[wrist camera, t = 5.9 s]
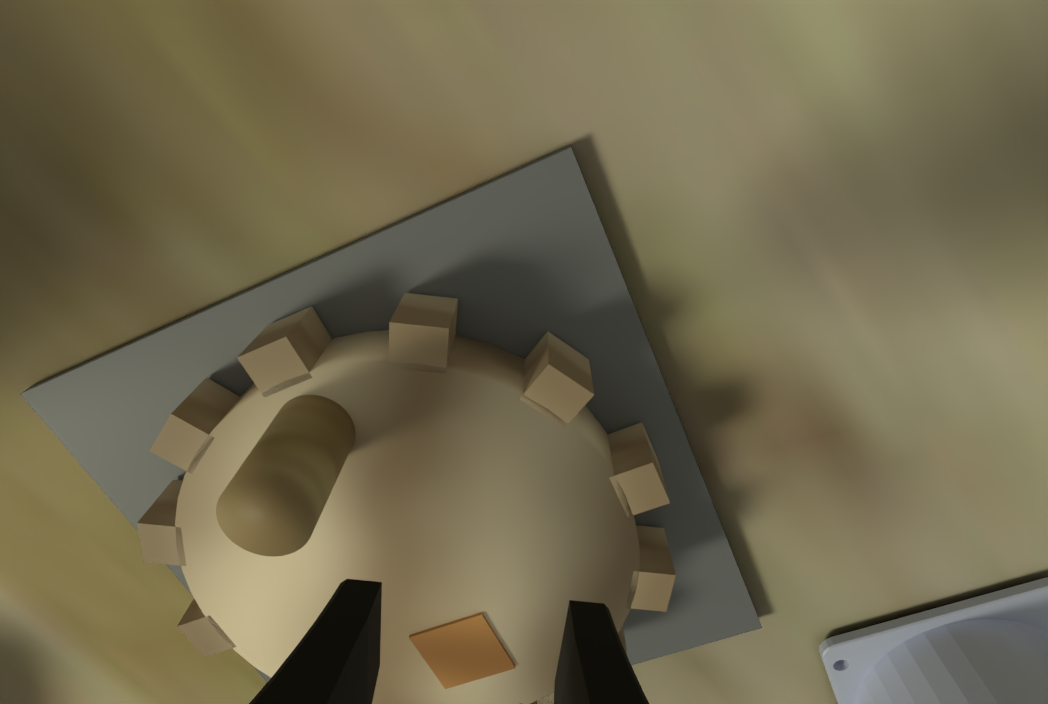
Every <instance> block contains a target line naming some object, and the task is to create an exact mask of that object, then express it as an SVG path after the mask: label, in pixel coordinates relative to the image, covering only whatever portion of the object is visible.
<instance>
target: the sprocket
mask: <svg viewBox="0 0 1048 704" xmlns="http://www.w3.org/2000/svg"><path fill="white" fill-rule="evenodd" d="M457 308H458V298H449V297H440V296H430V295H421V294H412V293H404V295H403V297H402V299H401V301H400V303H399V305H398V307H397V309H396V310H395V312H394V314H393V316H392V318H391V320H390V322H389V330H379V331H367V332H362V333H357V334H352V335H347V336H342V337H337V338H334V339H332V338H331V337H330V335H329V333H328V332H327V330H326V328H325V327H324V325H323V323H322V322H321V320H320V319H319V317H318V315H317V314H316V312H315V310H314V309H313V307H312V306H311V307H308V308H306V309H304V310H302V311H299V312H297V313H295V314H292V315H290V316H288V317H286V318H283V319H281V320H279V321H276V322H274V323H272V324H269V325H267V326H266V327H265V328H264V329H263V331H262V332H261V333H260V334H259V335H258V336H257V337H256V338H255V339H254V340H253V341H252V342H251V343H250V344H249V345H248V346H247V347H246V349H245V350H244V351H243V352H242V353H241V354H240V355H239V356H238V357H237V358H238V360H239V361H240V363H241V364H242V366H243V367H244V369H245V370H246V372H247V373H248V374H249V376H250V377H251V379H252V380H253V382H254V384H252V385H251V386H250V387H249V388H248V389H247V390H246V391H245V392H244V393H243V394H242V395H241V397H240V396H238V395H236V394H234V393H233V392H231V391H229V390H228V389H226V388H224V387H222V386H221V385H219V384H217V383H215V382H214V381H212V380H210V379H209V378H207V377H206V378H205V379H204V380H203V381H202V383H201V384H200V385H199V386H198V387H197V388H196V389H195V390H194V391H193V392H192V393H191V394H190V395H189V396H188V397H187V398H186V399H185V400H184V401H183V402H182V403H181V404H180V405H179V406H178V407H177V408H176V409H175V410H174V411H173V412H172V413H171V415H170V416H169V418H168V420H167V421H166V423H165V425H164V427H163V428H162V430H161V432H160V433H159V435H158V437H157V439H156V440H155V442H154V444H153V446H152V447H151V449H150V452H152V453H154V454H155V455H157V456H159V457H161V458H163V459H165V460H167V461H168V462H170V463H172V464H174V465H176V466H178V467H180V468H181V469H183V470H185V471H186V473H185V476H184V479H183V481H182V480H172V481H171V483H170V484H169V485H168V486H167V487H166V489H165V490H164V491H163V492H162V493H161V495H160V496H159V497H158V498H157V499H156V501H155V502H154V503H153V504H152V505H151V507H150V508H149V509H148V510H147V512H146V513H145V514H144V515H143V516H142V518H141V519H140V520H139V521H138V522H137V527H138V532H139V538H140V544H141V549H142V555H143V561H144V562H148V563H158V564H169V565H179V566H181V568H182V571H183V574H184V576H185V579H186V581H187V584H188V586H189V589H190V591H191V593H192V595H193V597H194V600H193V601H192V603H191V604H190V606H189V608H188V609H187V611H186V613H185V614H184V616H183V617H182V619H181V621H180V622H179V624H178V626H177V627H178V629H179V630H180V631H181V632H182V633H183V634H184V635H185V636H186V638H187V639H188V640H189V641H190V642H191V643H192V644H193V645H194V646H195V648H196V649H197V650H198V651H199V652H200V653H201V654H202V655H203V657H207V656H210V655H213V654H216V653H219V652H222V651H225V650H228V649H231V648H233V649H234V650H235V651H236V652H237V653H238V654H240V655H241V656H242V657H243V658H245V659H246V660H247V661H248V662H249V663H251V664H252V665H253V666H254V667H255V668H257V669H258V670H260V671H261V672H263V673H264V674H266V675H267V676H269V677H270V678H272V676H273V675H274V674H275V673H276V671H277V670H278V669H279V668H280V666H281V665H282V664H283V663H284V661H285V660H286V659H287V657H288V656H289V655H290V654H291V652H292V651H293V650H294V649H295V647H296V646H297V645H298V644H299V642H300V641H301V640H302V638H303V637H304V635H305V634H306V633H307V631H308V630H309V629H310V627H311V626H312V625H313V623H314V622H315V621H316V619H317V618H318V616H319V615H320V613H321V612H322V611H323V609H324V608H325V606H326V605H327V603H328V602H329V600H330V599H331V597H332V596H333V594H334V593H335V591H336V589H337V588H338V586H339V585H340V583H341V582H343V581H344V580H346V579H355V580H365V581H376V582H382V599H381V642H380V667H379V672H378V677H377V682H376V687H375V692H374V696H373V701H372V704H537V700H539V699H541V698H543V697H546V696H548V695H550V694H552V693H553V692H554V686H555V676H556V671H557V665H558V660H559V655H560V649H561V644H562V638H563V633H564V627H565V622H566V617H567V611H568V606H569V600H573V601H584V602H594V603H604V604H605V605H606V606H607V607H608V608H609V610H610V613H611V616H612V619H613V622H614V625H615V627H616V630H617V633H618V635H619V638H620V640H621V643H622V645H623V648H624V650H625V652H626V655H627V649H626V642H625V635H624V628H623V623H624V621H625V619H626V617H627V616H628V614H629V611H630V608H632V609H642V610H653V611H663V612H666V611H667V607H668V603H669V599H670V596H671V592H672V588H673V585H674V581H675V577H676V573H675V569H674V565H673V562H672V558H671V554H670V550H669V546H668V542H667V538H666V534H665V530H664V528H659V527H648V526H638V525H636V524H635V519H634V515H636V514H639V513H642V512H645V511H648V510H651V509H654V508H657V507H660V506H663V505H666V504H669V503H670V500H669V497H668V493H667V490H666V486H665V483H664V479H663V476H662V472H661V468H660V465H659V461H658V459H657V456H656V454H655V452H654V449H653V447H652V445H651V442H650V440H649V438H648V435H647V433H646V430H645V428H644V426H643V423H642V422H641V423H638V424H635V425H632V426H630V427H627V428H624V429H621V430H619V431H616V432H613V433H610V434H607V433H606V431H605V430H604V428H603V427H602V426H601V424H600V423H599V422H598V420H597V419H596V418H595V416H594V415H593V414H592V412H591V411H590V410H589V409H588V408H587V407H586V406H585V405H586V404H587V402H588V401H589V400H590V399H591V398H592V397H593V396H594V389H593V383H592V376H591V370H590V364H589V359H588V358H586V357H585V356H583V355H582V354H580V353H579V352H577V351H576V350H575V349H573V348H572V347H570V346H569V345H567V344H566V343H564V342H563V341H561V340H560V339H558V338H557V337H556V336H554V335H553V334H551V333H550V332H548V331H547V333H546V334H545V335H544V336H543V337H542V339H541V340H540V341H539V342H538V344H537V345H536V346H535V347H534V349H533V350H532V351H531V352H530V353H529V355H528V356H527V357H526V358H525V359H523V358H521V357H520V356H517V355H515V354H512V353H510V352H508V351H505V350H503V349H501V348H498V347H496V346H494V345H491V344H488V343H484V342H481V341H478V340H474V339H471V338H467V337H464V336H460V335H456V322H457ZM627 657H628V656H627Z"/></svg>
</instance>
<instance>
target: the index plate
mask: <svg viewBox="0 0 1048 704" xmlns="http://www.w3.org/2000/svg"><path fill="white" fill-rule="evenodd" d="M404 293H412V294H421V295H430V296H440V297H449V298H458V308H457V322H456V335H460V336H464V337H467V338H471V339H474V340H478V341H481V342H484V343H488V344H491V345H494V346H496V347H498V348H501V349H503V350H505V351H508V352H510V353H512V354H515V355H517V356H520V357H521V358H523V359H525V358H526V357H527V356H528V355H529V353H530V352H531V351H532V350H533V349H534V347H535V346H536V345H537V344H538V342H539V341H540V340H541V339H542V337H543V336H544V335H545V334H546V333H547V331H548V332H550V333H551V334H553V335H554V336H556V337H557V338H558V339H560V340H561V341H563V342H564V343H566V344H567V345H569V346H570V347H572V348H573V349H575V350H576V351H577V352H579V353H580V354H582V355H583V356H585V357H586V358H588V359H589V364H590V370H591V376H592V383H593V389H594V396H593V397H592V398H591V399H590V400H589V401H588V402H587V404H586V405H585V406H586V407H587V408H588V409H589V410H590V411H591V412H592V414H593V415H594V416H595V418H596V419H597V420H598V422H599V423H600V424H601V426H602V427H603V428H604V430H605V431H606V433H607V434H610V433H613V432H616V431H619V430H621V429H624V428H627V427H630V426H632V425H635V424H638V423H641V422H642V423H643V426H644V428H645V430H646V433H647V435H648V438H649V440H650V442H651V445H652V447H653V449H654V452H655V454H656V456H657V459H658V461H659V465H660V468H661V472H662V476H663V479H664V483H665V486H666V490H667V493H668V497H669V500H670V503H669V504H666V505H663V506H660V507H657V508H654V509H651V510H648V511H645V512H642V513H639V514H636V515H634V519H635V524H636V525H638V526H648V527H659V528H664V530H665V534H666V538H667V542H668V546H669V550H670V554H671V558H672V562H673V565H674V569H675V573H676V577H675V581H674V585H673V588H672V592H671V596H670V599H669V603H668V607H667V611H666V612H663V611H653V610H642V609H632V608H630V611H629V614H628V616H627V617H626V619H625V621H624V623H623V628H624V635H625V642H626V649H627V656H628V659H629V662H630V664H631V665H634V664H637V663H641V662H644V661H648V660H651V659H655V658H658V657H662V656H665V655H669V654H672V653H676V652H679V651H683V650H686V649H690V648H693V647H697V646H700V645H704V644H707V643H711V642H714V641H718V640H721V639H725V638H728V637H732V636H735V635H739V634H742V633H746V632H749V631H753V630H756V629H760V628H762V626H761V623H760V621H759V618H758V616H757V613H756V611H755V608H754V606H753V603H752V600H751V598H750V595H749V593H748V590H747V588H746V585H745V583H744V580H743V578H742V575H741V573H740V570H739V568H738V565H737V563H736V560H735V558H734V555H733V553H732V550H731V548H730V545H729V543H728V540H727V538H726V535H725V533H724V530H723V527H722V525H721V522H720V520H719V517H718V515H717V512H716V510H715V507H714V505H713V502H712V500H711V497H710V495H709V492H708V490H707V487H706V485H705V482H704V480H703V477H702V475H701V472H700V470H699V467H698V465H697V462H696V460H695V457H694V454H693V452H692V449H691V447H690V444H689V442H688V439H687V437H686V434H685V432H684V429H683V427H682V424H681V422H680V419H679V417H678V414H677V412H676V409H675V407H674V404H673V402H672V399H671V397H670V394H669V392H668V389H667V387H666V384H665V381H664V379H663V376H662V374H661V371H660V369H659V366H658V364H657V361H656V359H655V356H654V354H653V351H652V349H651V346H650V344H649V341H648V339H647V336H646V334H645V331H644V329H643V326H642V324H641V321H640V319H639V316H638V314H637V311H636V308H635V306H634V303H633V301H632V298H631V296H630V293H629V291H628V288H627V286H626V283H625V281H624V278H623V276H622V273H621V271H620V268H619V266H618V263H617V261H616V258H615V256H614V253H613V251H612V248H611V246H610V243H609V241H608V238H607V235H606V233H605V230H604V228H603V225H602V223H601V220H600V218H599V215H598V213H597V210H596V208H595V205H594V203H593V200H592V198H591V195H590V193H589V190H588V188H587V185H586V183H585V180H584V178H583V175H582V173H581V170H580V167H579V165H578V162H577V160H576V157H575V155H574V152H573V150H572V147H571V145H569V146H567V147H564V148H562V149H560V150H558V151H555V152H553V153H551V154H549V155H546V156H544V157H542V158H540V159H538V160H535V161H533V162H531V163H529V164H526V165H524V166H522V167H520V168H517V169H515V170H513V171H511V172H509V173H506V174H504V175H502V176H500V177H497V178H495V179H493V180H491V181H489V182H486V183H484V184H482V185H480V186H477V187H475V188H473V189H471V190H468V191H466V192H464V193H462V194H460V195H457V196H455V197H453V198H451V199H448V200H446V201H444V202H442V203H439V204H437V205H435V206H433V207H431V208H428V209H426V210H424V211H422V212H419V213H417V214H415V215H413V216H410V217H408V218H406V219H404V220H402V221H399V222H397V223H395V224H393V225H390V226H388V227H386V228H384V229H381V230H379V231H377V232H375V233H373V234H370V235H368V236H366V237H364V238H361V239H359V240H357V241H355V242H352V243H350V244H348V245H346V246H344V247H341V248H339V249H337V250H335V251H332V252H330V253H328V254H326V255H324V256H321V257H319V258H317V259H315V260H312V261H310V262H308V263H306V264H303V265H301V266H299V267H297V268H295V269H292V270H290V271H288V272H286V273H283V274H281V275H279V276H277V277H274V278H272V279H270V280H268V281H266V282H263V283H261V284H259V285H257V286H254V287H252V288H250V289H248V290H245V291H243V292H241V293H239V294H237V295H234V296H232V297H230V298H228V299H225V300H223V301H221V302H219V303H216V304H214V305H212V306H210V307H208V308H205V309H203V310H201V311H199V312H196V313H194V314H192V315H190V316H188V317H185V318H183V319H181V320H179V321H176V322H174V323H172V324H170V325H167V326H165V327H163V328H161V329H159V330H156V331H154V332H152V333H150V334H147V335H145V336H143V337H141V338H138V339H136V340H134V341H132V342H130V343H127V344H125V345H123V346H121V347H118V348H116V349H114V350H112V351H109V352H107V353H105V354H103V355H101V356H98V357H96V358H94V359H92V360H89V361H87V362H85V363H83V364H80V365H78V366H76V367H74V368H72V369H69V370H67V371H65V372H63V373H60V374H58V375H56V376H54V377H51V378H49V379H47V380H45V381H43V382H40V383H38V384H36V385H34V386H31V387H29V388H28V389H26V390H25V391H24V392H22V393H21V396H22V397H23V398H24V399H25V400H26V401H27V403H28V404H29V405H30V406H31V407H32V409H33V410H34V411H35V412H36V413H37V414H38V416H39V417H40V418H41V419H42V420H43V421H44V423H45V424H46V425H47V426H48V427H49V428H50V430H51V431H52V432H53V433H54V434H55V435H56V437H57V438H58V439H59V440H60V441H61V442H62V444H63V445H64V446H65V447H66V448H67V449H68V451H69V452H70V453H71V454H72V455H73V456H74V458H75V459H76V460H77V461H78V462H79V463H80V465H81V466H82V467H83V468H84V469H85V470H86V472H87V473H88V474H89V475H90V476H91V477H92V479H93V480H94V481H95V482H96V483H97V484H98V486H99V487H100V488H101V489H102V490H103V491H104V493H105V494H106V495H107V496H108V497H109V498H110V500H111V501H112V502H113V503H114V504H115V505H116V507H117V508H118V509H119V510H120V511H121V512H122V514H123V515H124V516H125V517H126V518H127V520H128V521H129V522H130V523H131V524H132V525H133V527H134V528H135V529H136V530H137V531H138V527H137V522H138V521H139V520H140V519H141V518H142V516H143V515H144V514H145V513H146V512H147V510H148V509H149V508H150V507H151V505H152V504H153V503H154V502H155V501H156V499H157V498H158V497H159V496H160V495H161V493H162V492H163V491H164V490H165V489H166V487H167V486H168V485H169V484H170V483H171V481H172V480H182V481H183V479H184V476H185V473H186V471H185V470H183V469H181V468H180V467H178V466H176V465H174V464H172V463H170V462H168V461H167V460H165V459H163V458H161V457H159V456H157V455H155V454H154V453H152V452H150V449H151V447H152V446H153V444H154V442H155V440H156V439H157V437H158V435H159V433H160V432H161V430H162V428H163V427H164V425H165V423H166V421H167V420H168V418H169V416H170V415H171V413H172V412H173V411H174V410H175V409H176V408H177V407H178V406H179V405H180V404H181V403H182V402H183V401H184V400H185V399H186V398H187V397H188V396H189V395H190V394H191V393H192V392H193V391H194V390H195V389H196V388H197V387H198V386H199V385H200V384H201V383H202V381H203V380H204V379H205V378H206V377H207V378H209V379H210V380H212V381H214V382H215V383H217V384H219V385H221V386H222V387H224V388H226V389H228V390H229V391H231V392H233V393H234V394H236V395H238V396H240V397H241V395H242V394H243V393H244V392H245V391H246V390H247V389H248V388H249V387H250V386H251V385H252V384H254V382H253V380H252V379H251V377H250V376H249V374H248V373H247V372H246V370H245V369H244V367H243V366H242V364H241V363H240V361H239V360H238V358H237V357H238V356H239V355H240V354H241V353H242V352H243V351H244V350H245V349H246V347H247V346H248V345H249V344H250V343H251V342H252V341H253V340H254V339H255V338H256V337H257V336H258V335H259V334H260V333H261V332H262V331H263V329H264V328H265V327H266V326H267V325H269V324H272V323H274V322H276V321H279V320H281V319H283V318H286V317H288V316H290V315H292V314H295V313H297V312H299V311H302V310H304V309H306V308H308V307H311V306H312V307H313V309H314V310H315V312H316V314H317V315H318V317H319V319H320V320H321V322H322V323H323V325H324V327H325V328H326V330H327V332H328V333H329V335H330V337H331V338H332V339H334V338H337V337H342V336H347V335H352V334H357V333H362V332H367V331H379V330H389V322H390V320H391V318H392V316H393V314H394V312H395V310H396V309H397V307H398V305H399V303H400V301H401V299H402V297H403V295H404ZM166 565H167V566H168V567H169V569H170V570H171V571H172V572H173V573H174V574H175V576H176V577H177V578H178V579H179V580H180V581H181V583H182V584H183V585H184V586H185V587H186V588H187V590H188V591H189V592H190V593H191V591H190V589H189V586H188V584H187V581H186V579H185V576H184V574H183V571H182V568H181V566H179V565H169V564H166ZM191 594H192V593H191ZM252 666H253V665H252ZM253 667H254V666H253ZM254 668H255V667H254ZM255 669H256V670H257V671H258V673H259V674H260V675H261V676H262V677H263V678H264V680H265V681H266V682H268V681H269V680H270V679H271V678H270V677H269V676H267V675H266V674H264V673H263V672H261V671H260V670H258V669H257V668H255Z"/></svg>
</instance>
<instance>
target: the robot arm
mask: <svg viewBox="0 0 1048 704" xmlns="http://www.w3.org/2000/svg"><path fill="white" fill-rule="evenodd" d="M381 599H382V582H376V581H365V580H355V579H346V580H344V581H343V582H341V583H340V585H339V586H338V588H337V589H336V591H335V593H334V594H333V596H332V597H331V599H330V600H329V602H328V603H327V605H326V606H325V608H324V609H323V611H322V612H321V613H320V615H319V616H318V618H317V619H316V621H315V622H314V623H313V625H312V626H311V627H310V629H309V630H308V631H307V633H306V634H305V635H304V637H303V638H302V640H301V641H300V642H299V644H298V645H297V646H296V647H295V649H294V650H293V651H292V652H291V654H290V655H289V656H288V657H287V659H286V660H285V661H284V663H283V664H282V665H281V666H280V668H279V669H278V670H277V671H276V673H275V674H274V675H273V676H272V678H271V679H270V680H269V681H268V682H267V684H266V685H265V686H264V687H263V688H262V690H261V691H260V692H259V693H258V694H257V695H256V697H255V698H254V699H253V700H252V701H251V702H250V703H249V704H372V701H373V696H374V692H375V687H376V682H377V677H378V672H379V667H380V642H381ZM819 652H820V655H821V658H822V661H823V664H824V666H825V669H826V672H827V675H828V678H829V680H830V683H831V686H832V689H833V692H834V694H835V697H836V700H837V703H838V704H1048V577H1046V578H1042V579H1039V580H1035V581H1031V582H1028V583H1024V584H1021V585H1017V586H1013V587H1010V588H1006V589H1002V590H999V591H995V592H992V593H988V594H984V595H981V596H977V597H974V598H970V599H966V600H963V601H959V602H956V603H952V604H948V605H945V606H941V607H938V608H934V609H930V610H927V611H923V612H920V613H916V614H912V615H909V616H905V617H902V618H898V619H894V620H891V621H887V622H884V623H880V624H876V625H873V626H869V627H866V628H862V629H858V630H855V631H851V632H848V633H844V634H840V635H837V636H833V637H830V638H827V639H825V640H824V641H823V642H822V643H821V644H820V646H819ZM554 704H649V702H648V700H647V698H646V696H645V694H644V692H643V690H642V688H641V686H640V684H639V682H638V680H637V677H636V675H635V673H634V671H633V668H632V666H631V664H630V662H629V659H628V657H627V655H626V652H625V650H624V648H623V645H622V643H621V640H620V638H619V635H618V633H617V630H616V627H615V625H614V622H613V619H612V616H611V613H610V610H609V608H608V607H607V606H606V605H605V604H604V603H594V602H584V601H573V600H569V606H568V611H567V617H566V622H565V627H564V633H563V638H562V644H561V649H560V655H559V660H558V665H557V671H556V676H555V686H554Z"/></svg>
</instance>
